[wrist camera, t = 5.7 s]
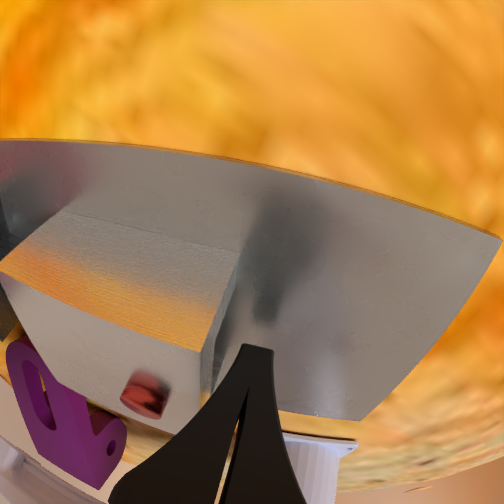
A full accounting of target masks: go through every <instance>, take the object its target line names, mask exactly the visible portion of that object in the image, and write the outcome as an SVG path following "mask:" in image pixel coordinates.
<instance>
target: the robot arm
mask: <svg viewBox="0 0 504 504" xmlns="http://www.w3.org/2000/svg"><path fill="white" fill-rule="evenodd" d="M273 363H274V351H273V350H272V349H268V348H264V347H259V346H255V345H251V344H247V343H243V344H242V345H241V347H240V350H239V352H238V354H237V356H236V358H235V360H234V362H233V364H232V366H231V367H230V369H229V371H228V372H227V374H226V376H225V377H224V379H223V380H222V382H221V383H220V384H219V386H218V387H217V389H216V390H215V392H214V393H213V394H212V395H211V397H210V398H209V399H208V400H207V402H206V403H205V404H204V405H203V407H202V408H201V409H200V410H199V411H198V413H197V414H196V415H195V416H194V417H193V418H192V419H191V420H190V421H189V422H188V423H187V424H186V425H185V426H184V427H183V428H182V429H181V430H180V431H179V432H178V433H177V434H176V435H175V436H174V437H173V438H172V439H171V440H170V441H169V442H167V443H166V444H165V445H164V446H163V447H161V448H160V449H159V450H158V451H157V452H155V453H154V454H153V455H152V456H150V457H149V458H148V459H146V460H145V461H144V462H142V463H141V464H139V465H138V466H137V467H135V468H133V469H132V470H130V471H129V472H128V473H126V474H125V475H124V476H123V477H122V478H121V479H120V480H119V481H118V483H117V484H116V485H115V486H114V488H113V490H112V492H111V494H110V497H109V499H108V502H109V504H214V502H215V499H216V495H217V492H218V488H219V484H220V481H221V477H222V473H223V470H224V466H225V462H226V459H227V455H228V451H229V447H230V444H231V440H232V436H233V433H234V430H235V427H236V425H237V422H238V419H239V422H238V428H237V435H236V441H235V446H234V450H233V454H232V458H231V462H230V465H229V469H228V472H227V476H226V479H225V483H224V486H223V490H222V493H221V497H220V500H219V503H218V504H335V497H336V488H337V479H338V469H339V459H341V458H342V457H344V456H346V455H347V454H349V453H350V452H352V451H353V450H355V449H356V448H358V447H359V442H357V441H347V440H336V439H326V438H317V437H310V436H303V435H296V434H290V433H284V432H282V429H281V425H280V420H279V414H278V409H277V402H276V394H275V385H274V366H273ZM0 494H1V495H2V496H3V497H4V498H5V499H6V500H7V501H9V503H10V504H106V503H104V502H101V501H100V500H98V499H96V498H94V497H92V496H90V495H88V494H86V493H84V492H82V491H81V490H79V489H77V488H76V487H74V486H72V485H70V484H69V483H67V482H65V481H64V480H62V479H61V478H59V477H57V476H56V475H54V474H53V473H51V472H50V471H48V470H47V469H45V468H44V467H42V466H41V464H40V463H39V462H38V461H36V460H35V459H33V458H32V457H30V456H29V455H28V454H27V453H25V452H24V451H22V450H21V449H19V448H18V447H16V446H14V445H13V444H11V443H10V442H9V441H7V440H6V439H5V438H3V437H2V436H1V435H0Z"/></svg>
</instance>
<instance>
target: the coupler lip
mask: <svg viewBox="0 0 504 504" xmlns="http://www.w3.org/2000/svg"><path fill="white" fill-rule="evenodd" d="M60 210H63V211H67V212H71V213H75V214H79V215H83V216H87V217H91V218H95V219H100V220H104V221H108V222H112V223H116V224H120V225H124V226H128V227H132V228H137V229H141V230H145V231H149V232H153V233H157V234H161V235H165V236H170V237H174V238H178V239H182V240H186V241H190V242H194V243H199V244H203V245H207V246H211V247H215V248H219V249H224V250H228V251H232V252H236V253H240V255H239V262H238V269H237V275H236V282H235V288H234V291H233V294H232V296H231V299H230V302H229V305H228V307H227V310H226V313H225V315H224V318H223V321H222V324H221V326H220V329H219V332H218V335H217V337H216V340H215V347H214V353H215V354H219V355H223V356H225V358H224V365H223V372H222V375H221V378H220V382H219V384H220V383H221V382H222V380H223V379H224V377H225V376H226V374H227V372H228V371H229V369H230V367H231V366H232V364H233V362H234V360H235V358H236V356H237V354H238V352H239V350H240V347H241V345H242V344H243V343H247V344H251V345H255V346H259V347H264V348H268V349H272V350H273V351H274V363H273V366H274V385H275V394H276V402H277V409H278V410H281V411H287V412H292V413H298V414H304V415H311V416H317V417H325V418H332V419H341V420H350V421H361V420H362V419H363V418H364V417H366V416H367V415H368V414H369V413H370V412H371V411H372V410H373V409H374V408H375V407H376V406H377V405H379V404H380V403H381V402H382V401H383V400H384V399H385V398H386V397H387V396H388V395H389V394H390V393H391V392H392V391H393V390H394V389H395V388H396V387H397V386H398V385H399V384H400V383H401V382H402V380H403V379H404V378H405V377H406V376H407V375H408V374H409V373H410V372H411V371H412V370H413V369H414V367H415V366H416V365H417V364H418V363H419V362H420V361H421V360H422V358H423V357H424V356H425V355H426V354H427V353H428V351H429V350H430V349H431V348H432V347H433V345H434V344H435V343H436V342H437V340H438V339H439V338H440V337H441V335H442V334H443V333H444V332H445V330H446V329H447V328H448V326H449V325H450V324H451V322H452V321H453V320H454V318H455V317H456V316H457V314H458V313H459V311H460V310H461V309H462V307H463V306H464V304H465V303H466V301H467V300H468V298H469V297H470V295H471V294H472V292H473V291H474V289H475V288H476V286H477V285H478V283H479V282H480V280H481V278H482V277H483V275H484V274H485V272H486V270H487V269H488V267H489V265H490V263H491V262H492V260H493V258H494V256H495V255H496V253H497V251H498V249H499V247H500V246H501V244H502V242H503V240H502V239H501V238H500V237H499V236H497V235H495V234H492V233H490V232H487V231H485V230H482V229H480V228H478V227H475V226H472V225H470V224H467V223H465V222H462V221H460V220H457V219H454V218H452V217H449V216H446V215H443V214H441V213H438V212H435V211H432V210H429V209H426V208H423V207H420V206H417V205H414V204H411V203H408V202H405V201H402V200H399V199H396V198H393V197H389V196H386V195H383V194H379V193H376V192H373V191H369V190H366V189H362V188H359V187H355V186H351V185H348V184H344V183H340V182H337V181H333V180H329V179H325V178H321V177H317V176H313V175H309V174H304V173H300V172H296V171H291V170H287V169H282V168H278V167H273V166H268V165H264V164H259V163H254V162H248V161H243V160H238V159H232V158H227V157H221V156H215V155H209V154H203V153H196V152H190V151H183V150H176V149H168V148H160V147H152V146H143V145H134V144H124V143H113V142H100V141H86V140H67V139H0V261H1V260H2V259H4V258H5V257H6V256H7V255H8V254H9V253H10V252H11V251H12V250H13V249H14V248H16V247H17V246H18V245H19V244H20V243H21V242H22V241H23V240H25V239H26V238H27V237H28V236H29V235H30V234H32V233H33V232H34V231H35V230H36V229H38V228H39V227H40V226H41V225H42V224H44V223H45V222H46V221H47V220H49V219H50V218H51V217H52V216H54V215H55V214H56V213H58V212H59V211H60ZM18 321H19V319H18V317H17V315H16V313H15V311H14V309H13V307H12V305H11V303H10V301H9V299H8V297H7V295H6V293H5V291H4V289H3V287H2V285H1V282H0V341H2V342H3V340H4V339H5V338H6V337H7V335H8V334H9V333H10V331H11V330H12V329H13V328H14V326H15V325H16V324H17V323H18ZM218 386H219V385H218Z"/></svg>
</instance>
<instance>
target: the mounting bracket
mask: <svg viewBox="0 0 504 504" xmlns="http://www.w3.org/2000/svg"><path fill="white" fill-rule="evenodd" d="M6 364H7V369H8V372H9V376H10V379H11V383H12V386H13V389H14V393H15V396H16V399H17V402H18V405H19V407H20V410H21V413H22V415H23V418H24V421H25V424H26V426H27V429H28V431H29V434H30V436H31V438H32V440H33V443H34V445H35V447H36V449H37V452H38V453H39V454H40V455H41V456H42V457H44V458H45V459H47V460H49V461H50V462H51V463H53V464H55V465H56V466H58V467H59V468H61V469H62V470H64V471H65V472H67V473H69V474H70V475H72V476H74V477H75V478H77V479H79V480H81V481H82V482H84V483H86V484H88V485H90V486H92V487H93V488H95V489H97V490H100V488H101V487H102V486H103V484H104V483H105V481H106V480H107V479H108V477H109V476H110V474H111V473H112V472H113V470H114V469H115V468H116V466H117V464H118V463H119V461H120V459H121V457H122V455H123V452H124V449H125V445H126V438H127V430H126V426H125V425H124V424H123V422H122V421H121V420H120V419H119V418H117V417H115V416H112V415H110V414H108V413H106V412H103V411H96V412H94V413H92V414H91V415H90V416H89V412H88V408H87V403H86V398H85V396H83V395H81V394H79V393H77V392H75V391H73V390H72V389H70V388H68V387H66V386H64V385H63V384H61V383H59V382H58V381H57V380H56V378H55V377H54V376H53V374H52V373H51V371H50V370H49V368H48V367H47V365H46V364H45V362H44V361H43V359H42V358H41V356H40V355H39V353H38V351H37V350H36V348H35V347H34V345H33V343H32V342H31V340H30V338H29V337H28V335H25V336H23V337H21V338H19V339H17V340H15V341H13V342H12V343H10V344H9V345H8V347H7V350H6ZM38 370H39V372H40V374H41V376H42V378H43V380H44V384H45V388H46V391H44V392H43V388H42V384H41V380H40V376H39V372H38Z"/></svg>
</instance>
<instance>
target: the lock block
mask: <svg viewBox="0 0 504 504" xmlns="http://www.w3.org/2000/svg"><path fill="white" fill-rule="evenodd" d="M239 255H240V253H236V252H232V251H228V250H224V249H219V248H215V247H211V246H207V245H203V244H199V243H194V242H190V241H186V240H182V239H178V238H174V237H170V236H165V235H161V234H157V233H153V232H149V231H145V230H141V229H137V228H132V227H128V226H124V225H120V224H116V223H112V222H108V221H104V220H100V219H95V218H91V217H87V216H83V215H79V214H75V213H71V212H67V211H63V210H60V211H59V212H58V213H56V214H55V215H54V216H52V217H51V218H50V219H49V220H47V221H46V222H45V223H44V224H42V225H41V226H40V227H39V228H38V229H36V230H35V231H34V232H33V233H32V234H30V235H29V236H28V237H27V238H26V239H25V240H23V241H22V242H21V243H20V244H19V245H18V246H17V247H16V248H14V249H13V250H12V251H11V252H10V253H9V254H8V255H7V256H6V257H5V258H4V259H2V260H1V261H0V282H1V285H2V287H3V289H4V291H5V293H6V295H7V297H8V299H9V301H10V303H11V305H12V307H13V309H14V311H15V313H16V315H17V317H18V319H19V321H20V323H21V324H22V326H23V328H24V330H25V331H26V333H27V335H28V337H29V338H30V340H31V342H32V343H33V345H34V347H35V348H36V350H37V351H38V353H39V355H40V356H41V358H42V359H43V361H44V362H45V364H46V365H47V367H48V368H49V370H50V371H51V373H52V374H53V376H54V377H55V378H56V380H57V381H58V382H59V383H61V384H63V385H64V386H66V387H68V388H70V389H72V390H73V391H75V392H77V393H79V394H81V395H83V396H85V397H87V398H89V399H91V400H93V401H95V402H97V403H99V404H101V405H103V406H105V407H107V408H109V409H111V410H114V411H116V412H118V413H120V414H123V415H125V416H127V417H130V418H132V419H134V420H137V421H139V422H142V423H144V424H147V425H149V426H152V427H155V428H157V429H160V430H163V431H166V432H169V433H172V434H175V435H176V434H177V433H178V432H179V431H180V430H181V429H182V428H183V427H184V426H185V425H186V424H187V423H188V422H189V421H190V420H191V419H192V418H193V417H194V416H195V415H196V414H197V413H198V411H199V410H200V409H201V408H202V407H203V405H204V404H205V403H206V402H207V400H208V399H209V398H210V397H211V395H212V394H213V393H214V392H215V390H216V389H217V387H218V385H219V382H220V378H221V375H222V372H223V365H224V358H225V356H223V355H219V354H215V353H214V347H215V340H216V337H217V335H218V332H219V329H220V326H221V324H222V321H223V318H224V315H225V313H226V310H227V307H228V305H229V302H230V299H231V296H232V294H233V291H234V288H235V282H236V275H237V269H238V262H239Z"/></svg>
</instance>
